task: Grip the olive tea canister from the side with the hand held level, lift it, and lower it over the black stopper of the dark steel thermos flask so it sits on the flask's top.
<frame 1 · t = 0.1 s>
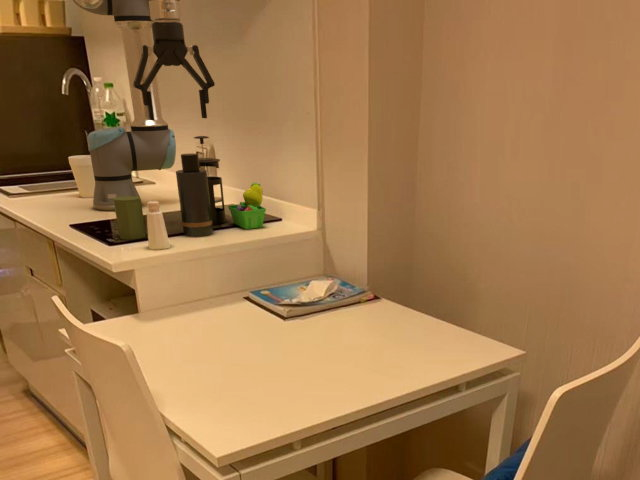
hand: (178, 119, 180), 28 cm above the table, tool pointing down, fingers open, 13 cm apart
salt shaker: (159, 248, 176), on the table
flask: (198, 233, 190), on the table
french press: (210, 222, 204), on the table
fruit basket: (250, 226, 199), on the table
foam cup: (90, 196, 248), on the table
olive tea canister: (133, 236, 187), on the table
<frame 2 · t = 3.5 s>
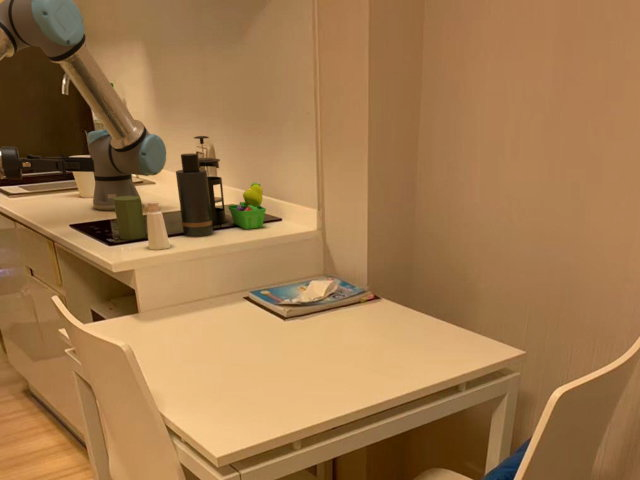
hand: (93, 164, 177), 18 cm above the table, tool horizontal, fingers open, 13 cm apart
nothing on the table moved.
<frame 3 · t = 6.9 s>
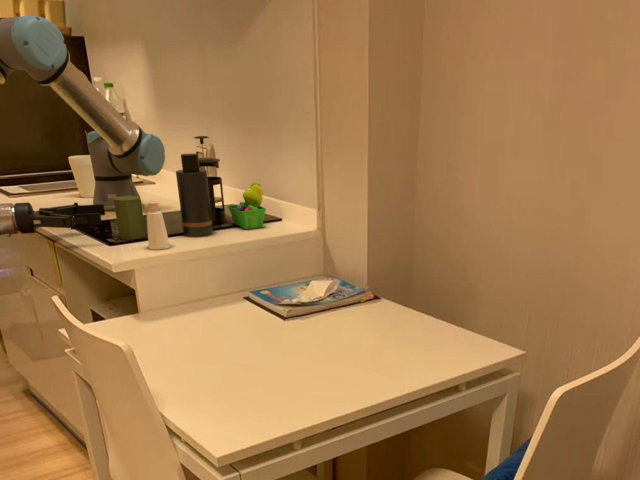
hand: (102, 214, 183), 6 cm above the table, tool horizontal, fingers open, 13 cm apart
nothing on the table moved.
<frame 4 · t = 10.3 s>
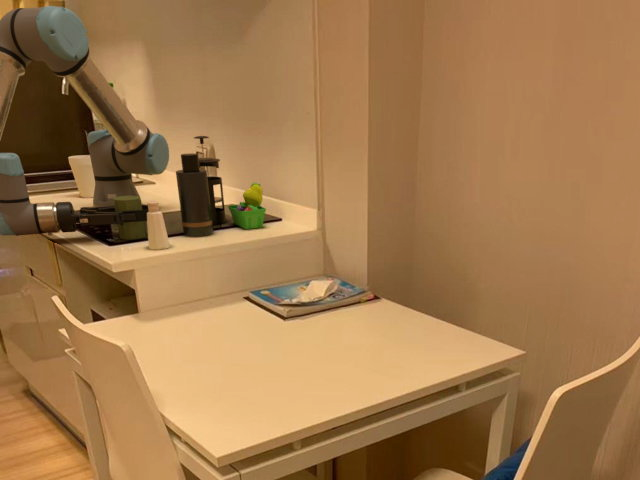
hand: (148, 212, 185), 6 cm above the table, tool horizontal, fingers closed on olive tea canister, 7 cm apart
olive tea canister: (133, 236, 187), on the table, touching gripper
everything else where it was.
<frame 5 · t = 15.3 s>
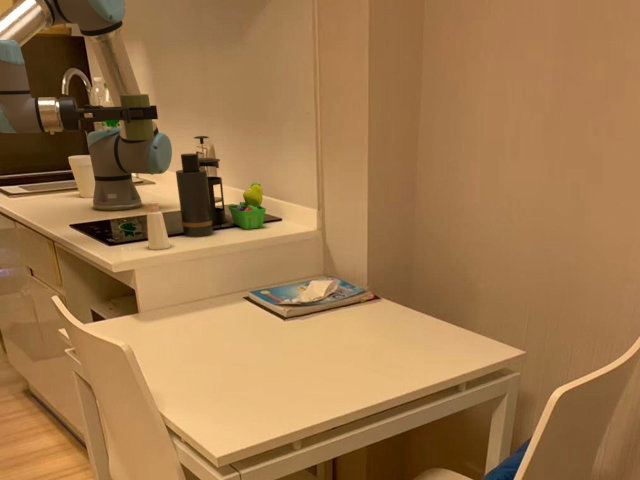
hand: (156, 112, 174), 30 cm above the table, tool horizontal, fingers closed on olive tea canister, 7 cm apart
olive tea canister: (140, 139, 176), point 24 cm above the table, touching gripper
everything else where it was.
when the fingers open (22 cm above the table, at t = 20.5 s): olive tea canister stays where it is, resting on flask.
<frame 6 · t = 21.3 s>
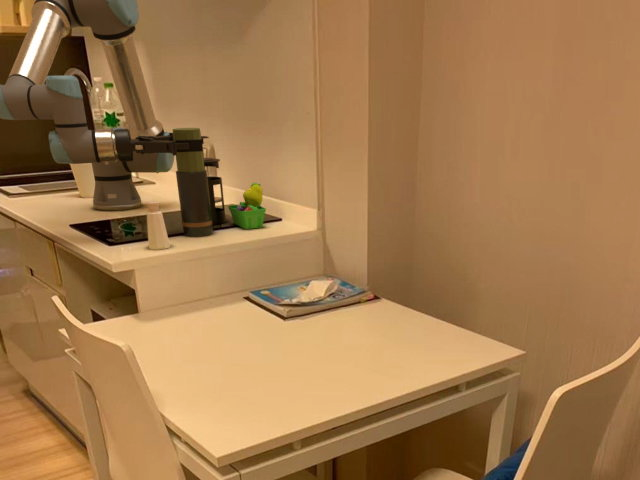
hand: (200, 142, 179), 23 cm above the table, tool horizontal, fingers open, 13 cm apart
olive tea canister: (191, 170, 182), point 16 cm above the table, touching flask
everything else where it was.
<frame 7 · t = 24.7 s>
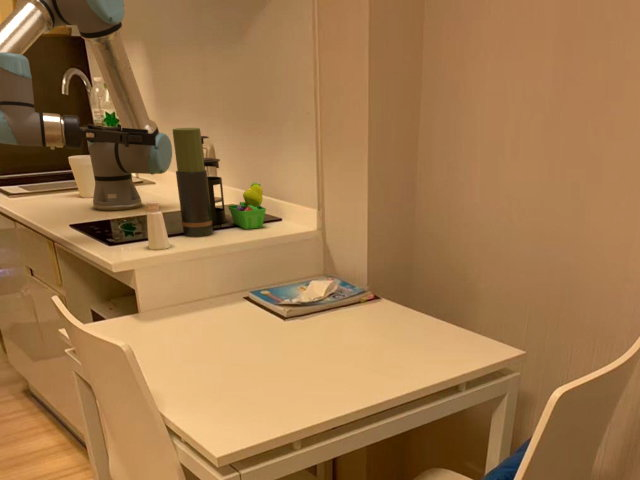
hand: (151, 137, 179), 24 cm above the table, tool horizontal, fingers open, 13 cm apart
nothing on the table moved.
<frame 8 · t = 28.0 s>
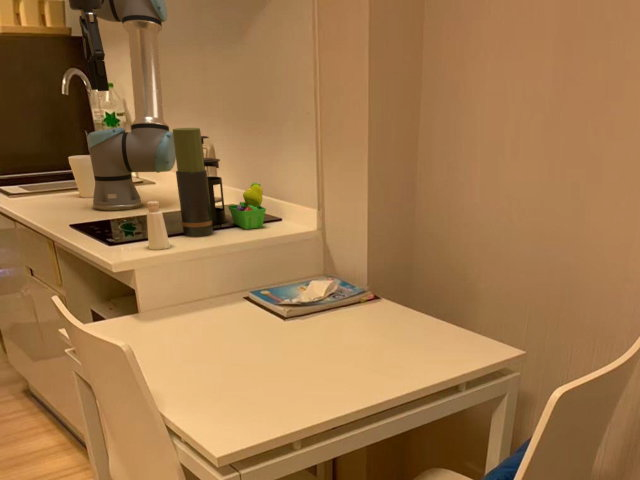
hand: (100, 90, 177), 35 cm above the table, tool pointing down, fingers open, 13 cm apart
nothing on the table moved.
at the end: olive tea canister 0.0 cm off-centre on the flask, point 16.0 cm above the flask's base; olive tea canister tilted 0°; the gripper is holding nothing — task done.
